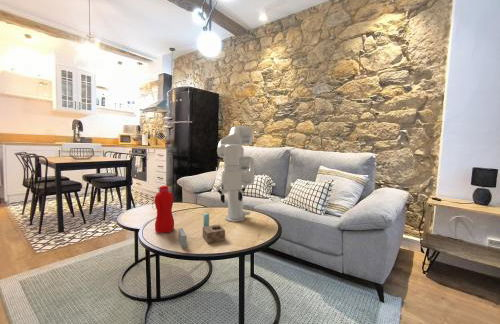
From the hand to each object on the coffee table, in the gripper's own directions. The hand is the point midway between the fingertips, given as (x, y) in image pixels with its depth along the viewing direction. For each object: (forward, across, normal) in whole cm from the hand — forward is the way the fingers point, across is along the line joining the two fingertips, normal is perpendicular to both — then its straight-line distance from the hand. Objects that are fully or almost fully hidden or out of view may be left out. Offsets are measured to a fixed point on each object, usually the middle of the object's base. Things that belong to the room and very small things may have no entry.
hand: (231, 201), depth 122 cm
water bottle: (+19, +32, -22) cm, 43 cm away
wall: (+18, +25, 0) cm, 31 cm away
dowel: (+18, +11, -10) cm, 24 cm away
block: (+18, +10, 0) cm, 21 cm away
